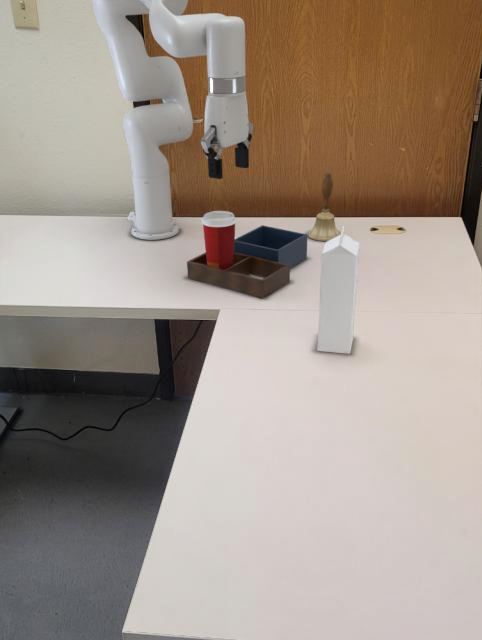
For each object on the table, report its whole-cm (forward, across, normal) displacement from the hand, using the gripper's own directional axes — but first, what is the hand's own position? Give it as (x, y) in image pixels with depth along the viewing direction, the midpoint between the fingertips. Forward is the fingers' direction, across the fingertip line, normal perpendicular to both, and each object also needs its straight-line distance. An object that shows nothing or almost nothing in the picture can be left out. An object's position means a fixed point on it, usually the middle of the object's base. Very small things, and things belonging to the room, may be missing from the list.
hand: (229, 172), depth 152 cm
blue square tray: (+23, -11, +3) cm, 26 cm away
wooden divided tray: (+23, +2, +3) cm, 23 cm away
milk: (+23, +18, +36) cm, 46 cm away
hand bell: (+23, -34, +6) cm, 41 cm away
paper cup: (+23, +2, -2) cm, 23 cm away
